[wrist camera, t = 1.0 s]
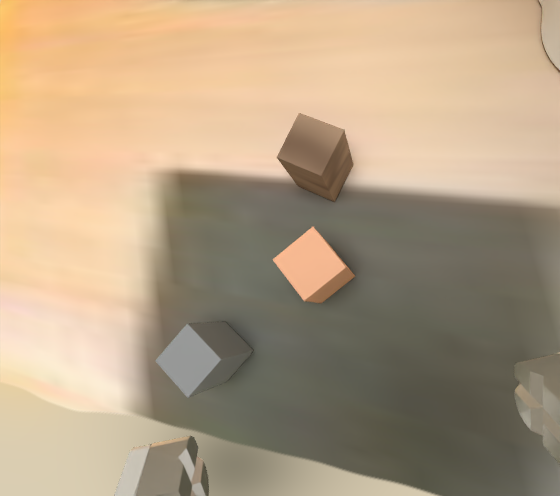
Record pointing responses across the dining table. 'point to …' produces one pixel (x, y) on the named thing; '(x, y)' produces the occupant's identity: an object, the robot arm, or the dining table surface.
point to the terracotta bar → (313, 267)
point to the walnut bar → (316, 156)
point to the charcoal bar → (203, 356)
